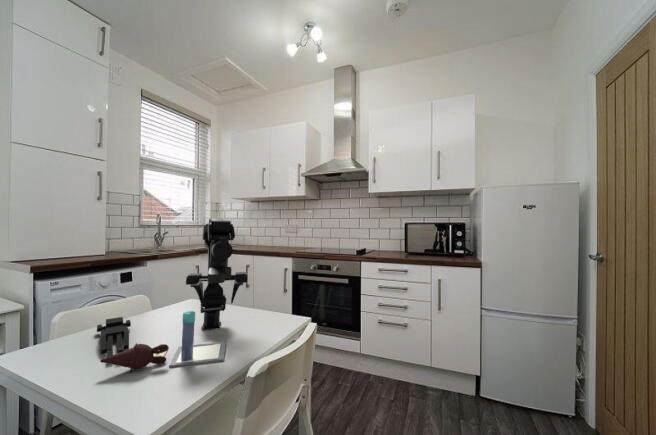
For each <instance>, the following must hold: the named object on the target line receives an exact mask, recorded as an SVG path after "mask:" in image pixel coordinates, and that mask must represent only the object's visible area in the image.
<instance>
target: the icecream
mask: <svg viewBox="0 0 656 435" xmlns="http://www.w3.org/2000/svg"><path fill="white" fill-rule="evenodd" d="M168 348H170V347H169V345H168V344H167V343H164V344H161V343H160V344H158V346H157V345H156V346H155V347H151V346H150V345H148V344H146V343H137V342H136V343H135V344H134V346H133V347H131V348H129V349H126V350H124V351H123V352H120V353H117V352H116V353H115V354H113V355H112V356H109V357H107V356H106V357H105V358H102V359H100V363H102V364H109V365H113V366H118V367H124V368H128V369H130V370H129V372H130V373H132V372H133V371H138V370H141V369H143V368H145V367H147V366H148V365H149V364H152V365H153V364H154V365H155V364H156V365H161V364H165V363H166V362H167V357H165V355H164V356H154V354H160V353H163V352H165V351H167V352H168V350H169V349H168Z"/></svg>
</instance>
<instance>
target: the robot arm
mask: <svg viewBox="0 0 656 435" xmlns="http://www.w3.org/2000/svg"><path fill="white" fill-rule="evenodd" d="M235 237H236V233H235V226H234V225H233V223H232V222H231V220H225V219H223V218H220V217H219V218H217V217H211V218H208V222H207V223H206V224H205V225H204V226H203V229H202V241H203V242H204V245H203V246H204V247H205V248H206V251H207V275H203V273H202V272H200V273H198V272H197V273H196V272H195V273H194V272H193V273H190V274H188V275H187V276H186V278H185V285H187V286H189V285H190V287H191V288H194V290H195V291H196V294H197V295H198V298H199V302H200V304H199V305H200V308H199V309H200V314H203V323H202V325H201V331H203V330H217V329H221V325H222V321H221V312H222V311H223V312H224V311H225V310H226V306H227V297H226V294H224V289H223V286H221V285H220V284H222V283H225V281H234V282H233V283H234V284H233V289H232V293H231V297H230V299H231V300H230V303H231V304H233V303H234V300H235V297H236V294H237V292H238V290H239V288H240V287H241V286H243V285H244V283H248V273H247V271H243V272H242V271H238V272H237V271H235V274H232V270H233V269H232V266H229V259H230V258H231V256H232V254H233V247H232V245H231V243H230V241H234V239H235ZM203 282H207V286H206V288H205V289H204V284H203Z"/></svg>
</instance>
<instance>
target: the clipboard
mask: <svg viewBox="0 0 656 435" xmlns="http://www.w3.org/2000/svg"><path fill="white" fill-rule="evenodd" d="M226 346H227V345H226V342H216V343H215V342H214V343H213V341H206V342H195V343H193V358H192V359H191V360H189V361H181V351H182V346H178V348H177V349H176V351H175V353H174V355H173V357H172V359H171V361H170V363H169V365H168V368H176V367H179V368H180V367H186V366H194V365H204V364H211V363H220V362H224V359H225V352H226Z"/></svg>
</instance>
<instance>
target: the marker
mask: <svg viewBox="0 0 656 435" xmlns="http://www.w3.org/2000/svg"><path fill="white" fill-rule="evenodd" d="M195 321H196V311H194V310H193V311H189V310H188V311H185V312H183V313H182V331H181V333H182V334H181V335H182V336H181V347H182V351H181V361H189V360H191V359H192V358H193V343H194V342H195Z"/></svg>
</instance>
